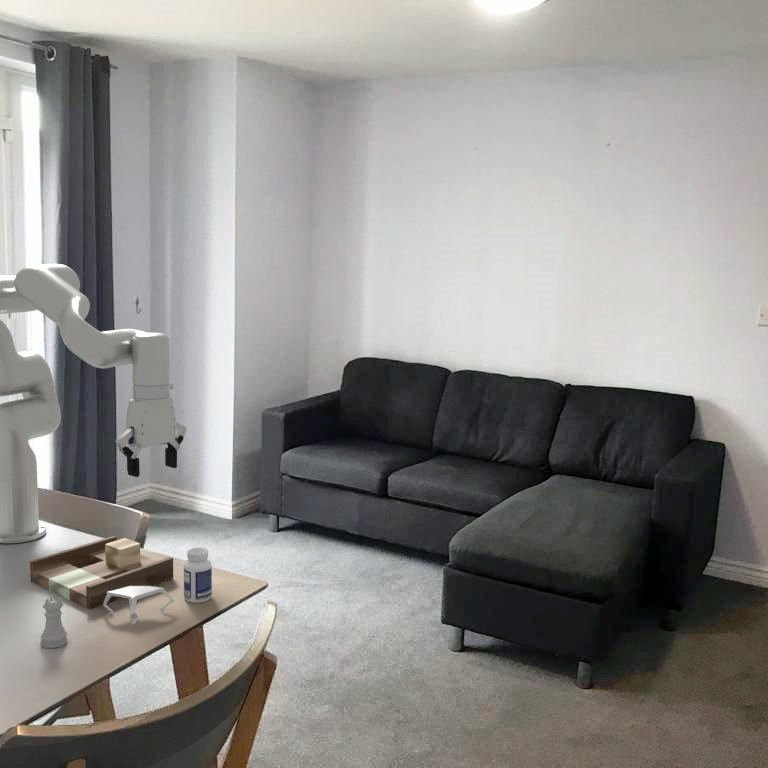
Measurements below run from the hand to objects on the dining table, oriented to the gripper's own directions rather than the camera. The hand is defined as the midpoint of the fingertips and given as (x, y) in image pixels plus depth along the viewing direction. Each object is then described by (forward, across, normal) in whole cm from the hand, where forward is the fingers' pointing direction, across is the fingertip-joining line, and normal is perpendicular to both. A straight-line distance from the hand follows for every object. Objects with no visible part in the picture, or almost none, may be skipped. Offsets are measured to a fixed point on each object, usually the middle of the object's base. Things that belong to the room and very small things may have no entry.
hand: (152, 471), depth 183 cm
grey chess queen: (+21, +34, +17) cm, 43 cm away
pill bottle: (+21, +5, +20) cm, 30 cm away
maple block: (+18, +7, -1) cm, 20 cm away
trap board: (+21, +12, -1) cm, 24 cm away
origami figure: (+21, +17, +18) cm, 33 cm away
